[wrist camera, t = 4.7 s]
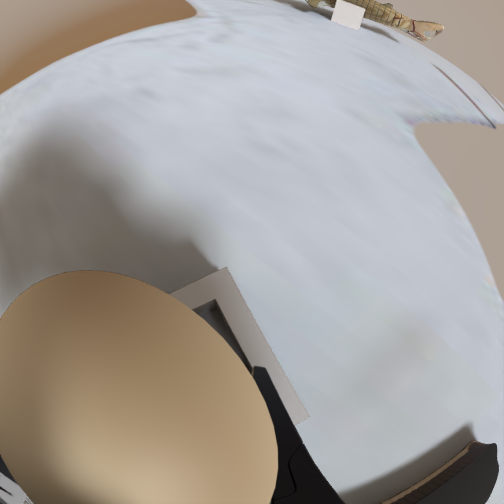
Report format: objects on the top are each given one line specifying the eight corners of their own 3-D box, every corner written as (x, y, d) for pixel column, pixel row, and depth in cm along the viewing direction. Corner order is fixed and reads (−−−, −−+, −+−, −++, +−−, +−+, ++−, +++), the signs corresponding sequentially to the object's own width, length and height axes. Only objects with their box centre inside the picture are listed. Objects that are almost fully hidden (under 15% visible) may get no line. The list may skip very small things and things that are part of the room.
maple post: (176, 433, 12) (79, 561, 1) (135, 357, 14) (-38, 331, 2) (254, 398, 13) (337, 507, 2) (212, 321, 15) (171, 214, 4)
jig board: (70, 485, 10) (47, 500, 7) (18, 374, 12) (-12, 372, 9) (297, 407, 14) (314, 419, 11) (225, 279, 17) (225, 260, 14)
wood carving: (428, 68, 36) (448, 31, 26) (274, 6, 39) (280, -34, 29) (424, 56, 40) (441, 23, 29) (286, 1, 42) (293, -35, 32)
